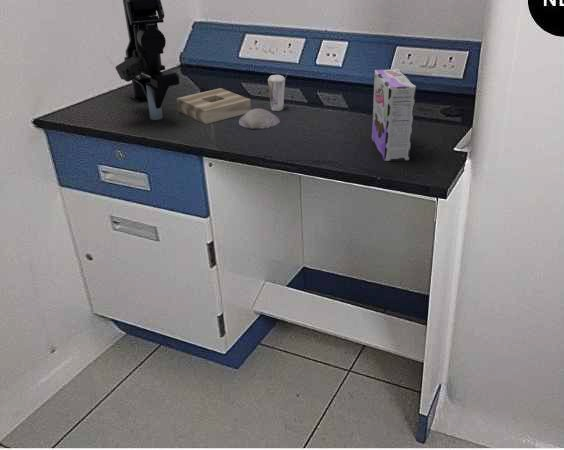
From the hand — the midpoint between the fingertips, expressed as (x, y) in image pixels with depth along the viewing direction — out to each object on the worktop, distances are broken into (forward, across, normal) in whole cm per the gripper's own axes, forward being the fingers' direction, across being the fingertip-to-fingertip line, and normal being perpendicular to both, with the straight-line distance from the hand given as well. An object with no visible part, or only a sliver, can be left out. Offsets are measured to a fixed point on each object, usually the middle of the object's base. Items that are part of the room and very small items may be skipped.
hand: (155, 106), depth 162 cm
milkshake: (+3, +16, +28) cm, 32 cm away
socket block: (+3, +6, +14) cm, 16 cm away
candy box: (+3, +55, +29) cm, 62 cm away
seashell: (+4, +21, +18) cm, 28 cm away
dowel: (+3, 0, 0) cm, 3 cm away
